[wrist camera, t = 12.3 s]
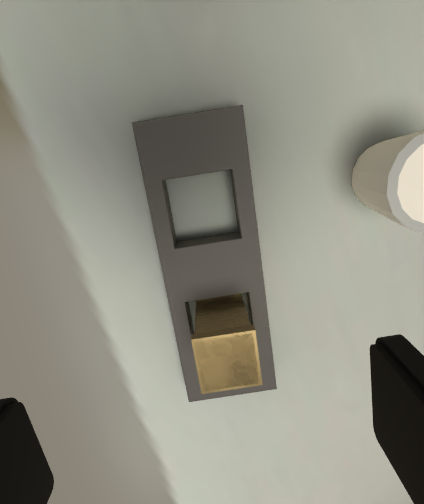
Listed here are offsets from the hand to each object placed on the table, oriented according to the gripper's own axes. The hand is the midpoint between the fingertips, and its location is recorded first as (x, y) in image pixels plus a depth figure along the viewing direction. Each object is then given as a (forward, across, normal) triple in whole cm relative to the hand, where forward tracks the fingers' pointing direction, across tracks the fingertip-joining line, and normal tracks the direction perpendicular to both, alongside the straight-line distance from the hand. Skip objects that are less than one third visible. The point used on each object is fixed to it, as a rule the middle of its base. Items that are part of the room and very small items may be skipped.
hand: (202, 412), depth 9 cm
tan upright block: (+21, 0, +8) cm, 23 cm away
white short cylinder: (+22, -16, -2) cm, 27 cm away
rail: (+21, 0, +3) cm, 21 cm away
